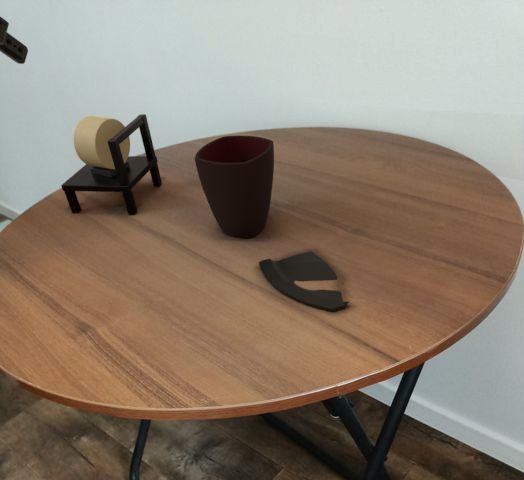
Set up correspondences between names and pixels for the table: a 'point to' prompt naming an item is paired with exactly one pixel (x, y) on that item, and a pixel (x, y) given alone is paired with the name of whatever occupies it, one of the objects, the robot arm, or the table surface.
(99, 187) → the chair
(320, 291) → the fan shaped piece
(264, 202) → the cup
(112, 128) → the short beige cylinder
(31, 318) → the table surface
